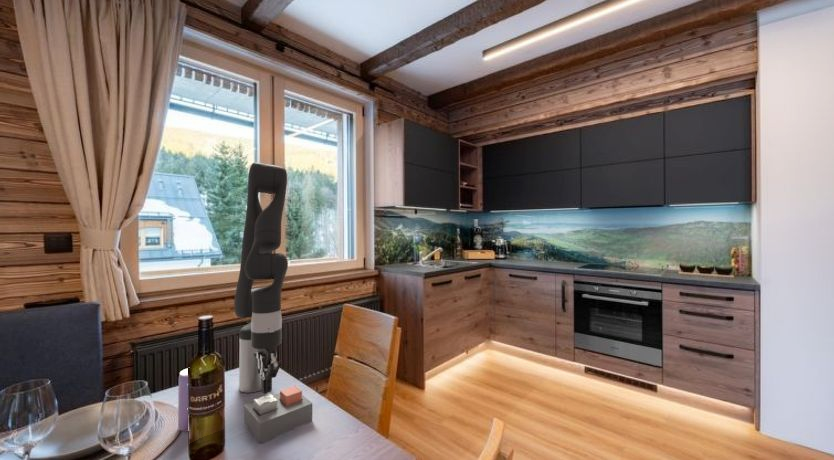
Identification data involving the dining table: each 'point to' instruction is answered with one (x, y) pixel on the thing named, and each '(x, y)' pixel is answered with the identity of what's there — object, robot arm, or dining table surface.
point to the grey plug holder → (277, 419)
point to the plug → (265, 404)
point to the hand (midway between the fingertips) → (266, 391)
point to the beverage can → (183, 401)
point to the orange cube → (290, 395)
